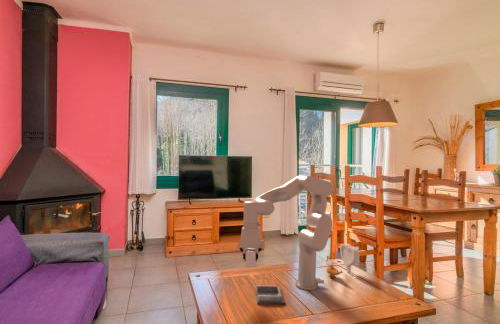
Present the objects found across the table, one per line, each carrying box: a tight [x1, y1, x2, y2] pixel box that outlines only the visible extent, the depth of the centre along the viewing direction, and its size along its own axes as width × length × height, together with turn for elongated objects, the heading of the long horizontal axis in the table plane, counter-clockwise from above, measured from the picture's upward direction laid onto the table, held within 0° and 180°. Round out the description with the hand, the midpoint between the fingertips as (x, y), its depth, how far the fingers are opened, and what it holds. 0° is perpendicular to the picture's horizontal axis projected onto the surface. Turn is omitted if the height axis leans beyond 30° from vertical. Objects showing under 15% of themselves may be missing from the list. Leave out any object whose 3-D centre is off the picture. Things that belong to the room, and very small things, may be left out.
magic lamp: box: [325, 255, 344, 279], centre depth 175 cm, size 7×18×11 cm, turn 15°
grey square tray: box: [255, 284, 287, 306], centre depth 148 cm, size 14×14×4 cm
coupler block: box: [245, 248, 257, 268], centre depth 148 cm, size 5×7×8 cm
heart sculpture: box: [339, 243, 360, 277], centre depth 182 cm, size 16×5×18 cm, turn 14°
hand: (250, 260), depth 148 cm, fingers closed on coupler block, 5 cm apart
